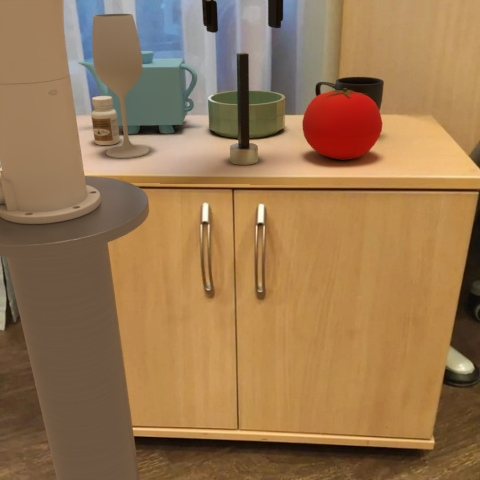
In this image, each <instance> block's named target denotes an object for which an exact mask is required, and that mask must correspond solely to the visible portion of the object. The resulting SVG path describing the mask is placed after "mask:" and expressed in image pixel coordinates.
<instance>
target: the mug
mask: <svg viewBox="0 0 480 480" xmlns="http://www.w3.org/2000/svg"><path fill="white" fill-rule="evenodd" d="M384 81H385V80H383V79H381V78H377V77H371V76H370V77H369V76H345V77H340V78H338V79H335V83H334V82H330V81H319V82H317V83H316V84H315V89H314V91H315V97H317V96H318V95H320V94H322V91H321V87H322V85H323V86H328V87H330V88H332V89H334V91H335V90H337V91H343V88H347V90H353V92H358V93H364V95H366V96H368V97H370V98H371V99H372V100H373V101H374V102H375V103H376V105H377V107H378V109H379V112H380V113H381V107H382V102H383V95H384V87H385V82H384ZM369 94H370V95H369Z"/></svg>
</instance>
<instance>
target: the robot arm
mask: <svg viewBox="0 0 480 480" xmlns="http://www.w3.org/2000/svg"><path fill="white" fill-rule="evenodd" d="M64 6H65V0H0V166H1V170H0V217H1V218H3V219H5V220H7V221H10V222H14V223H20V224H48V223H56V222H62V221H67V220H71V219H75V218H78V217H81V216H83V215H86V214H88V213H90V212H92V211H93V210H95V209H96V208H97V207H98V206H99V205H100V203H101V198H100V193H99V191H98V190H97V189H95V188H94V187H91V186H89V185H86V182H85V176H86V175H85V168H84V163H83V155H82V148H81V141H80V135H79V127H78V121H77V113H76V107H75V100H74V93H73V86H72V80H71V79H72V78H71V73H70V66H69V60H68V53H67V51H68V50H67V44H66V33H65V16H64V15H65V14H64V13H65V7H64ZM201 7H202V9H201V10H202V23H203V24H202V25H203V26H204V27H206V29H205V30H206V31H207V32H209V33H212V34H214V33H216V34H217V32H219V23H218V22H219V20H218V19H219V18H218V17H219V16H218V3H217V1H216V0H201ZM282 21H284V0H267V25H268V27H269V28H273V29H281V28H282Z"/></svg>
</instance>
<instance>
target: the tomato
mask: <svg viewBox="0 0 480 480" xmlns="http://www.w3.org/2000/svg"><path fill="white" fill-rule="evenodd" d="M369 95H370V94H369ZM301 123H302V132H303V136H304V138H305V140H306V142H307V144H308V145H309V146H310V148H312V149H313V150H314V151H315V152H316V153H318V154H319V155H321V156H324V157H326V158H330V159H335V160H341V161H342V160H343V161H347V160H352V159H356V158H359V157H362V156H363V155H365V154H367V153H368V152H369V151H371V149H372V148H373V147H374V146H375V144H376V143H377V141H378V140H379V138H380V136H381V133H382V131H383V120H382V115H381V111H380V112H379V109H378V107H377V105H376V103H375V102H374V101H373V100H372V99H371V98H370V97H368V96H366V95H364V93H358V92H353V90H347V88H343V91H337V90H335V89H334V90H331V91H327V92H323V93H322V92H321V94H320V95H318V96H317V97H316V96H315V97H313V98H312V100H311V101H310V102H309V104H307V107H306V109H305V111H304V114H303V118H302V121H301Z"/></svg>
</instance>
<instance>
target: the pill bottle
mask: <svg viewBox="0 0 480 480" xmlns="http://www.w3.org/2000/svg"><path fill="white" fill-rule="evenodd" d="M91 102H92V103H91V104H92V107H93V108H94V109H93V110H92V112H91V113H90V116H91V123H92V130H93V138H94V143H95V144H97V145H99V146H113V145H116V144H118V143H120V141H121V139H120V129H119V126H118V120H117V113H116V111H115V110H114V109H112V106H113V100H112V97H111V96H102V95H99V96H98V95H97V96H93V97H92V98H91Z"/></svg>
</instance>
